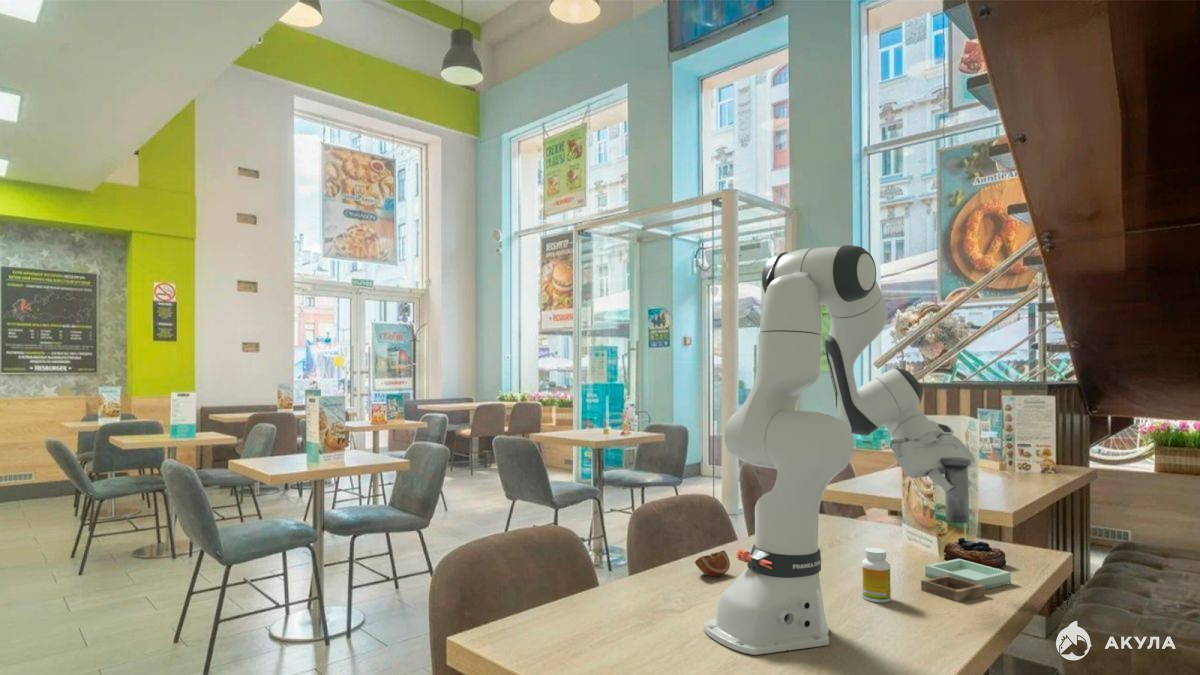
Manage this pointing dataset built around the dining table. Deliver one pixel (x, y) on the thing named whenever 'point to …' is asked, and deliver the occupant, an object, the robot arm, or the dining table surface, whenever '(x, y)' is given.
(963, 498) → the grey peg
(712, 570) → the fruit slice
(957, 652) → the dining table surface
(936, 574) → the tray
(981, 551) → the pastry
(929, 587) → the socket block
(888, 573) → the supplement bottle
